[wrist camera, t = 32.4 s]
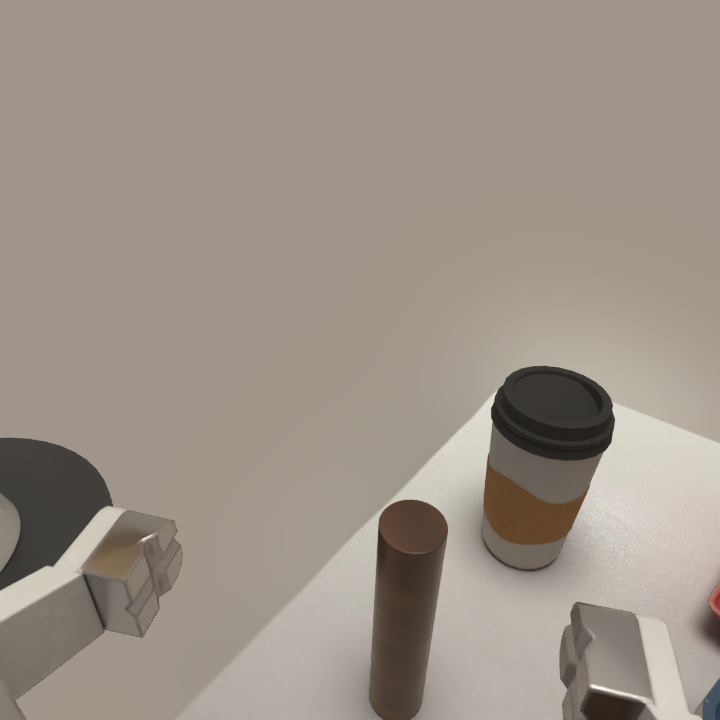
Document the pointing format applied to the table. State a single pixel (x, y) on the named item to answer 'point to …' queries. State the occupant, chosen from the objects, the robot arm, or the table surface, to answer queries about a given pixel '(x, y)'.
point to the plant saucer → (715, 601)
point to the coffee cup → (541, 461)
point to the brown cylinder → (405, 605)
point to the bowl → (710, 704)
